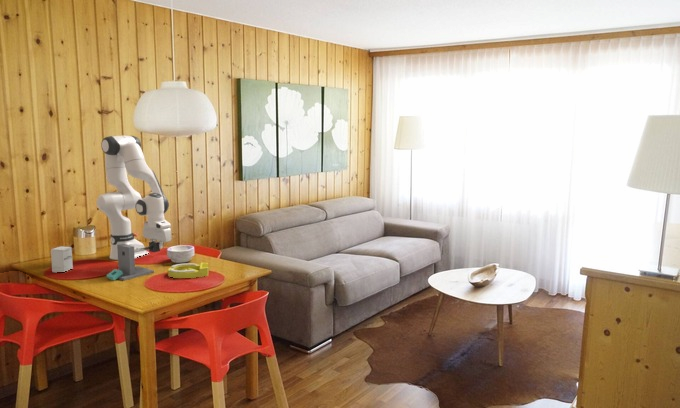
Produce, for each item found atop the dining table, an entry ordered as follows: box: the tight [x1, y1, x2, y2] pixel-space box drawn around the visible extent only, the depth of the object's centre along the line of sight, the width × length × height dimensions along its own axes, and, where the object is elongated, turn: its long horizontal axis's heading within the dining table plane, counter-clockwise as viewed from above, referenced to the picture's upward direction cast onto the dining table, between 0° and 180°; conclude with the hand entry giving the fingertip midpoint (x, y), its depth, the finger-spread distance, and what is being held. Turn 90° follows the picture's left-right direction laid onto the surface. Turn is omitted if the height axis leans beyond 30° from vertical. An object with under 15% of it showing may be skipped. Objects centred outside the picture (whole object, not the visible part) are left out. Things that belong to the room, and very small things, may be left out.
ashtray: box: [167, 262, 210, 279], centre depth 285 cm, size 16×21×5 cm
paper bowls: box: [166, 244, 195, 264], centre depth 310 cm, size 15×15×8 cm
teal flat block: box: [106, 268, 123, 281], centre depth 275 cm, size 2×6×6 cm
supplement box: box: [50, 245, 74, 273], centre depth 286 cm, size 7×7×13 cm
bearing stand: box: [107, 244, 155, 281], centre depth 282 cm, size 18×14×16 cm
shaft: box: [134, 240, 161, 253], centre depth 287 cm, size 20×4×5 cm, turn 146°
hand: (157, 247), depth 296 cm, fingers closed on shaft, 4 cm apart
